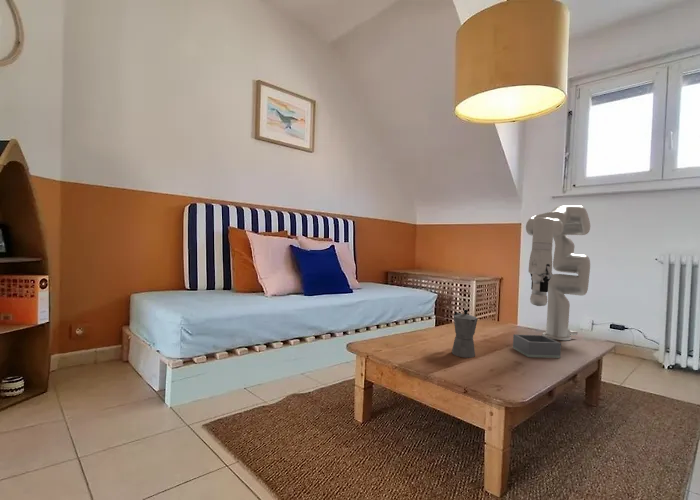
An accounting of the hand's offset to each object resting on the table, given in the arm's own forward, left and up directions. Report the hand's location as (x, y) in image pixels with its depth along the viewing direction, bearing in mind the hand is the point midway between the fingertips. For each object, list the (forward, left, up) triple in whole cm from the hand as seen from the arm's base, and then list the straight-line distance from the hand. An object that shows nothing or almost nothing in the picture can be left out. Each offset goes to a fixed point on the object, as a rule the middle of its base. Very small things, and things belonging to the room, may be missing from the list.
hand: (539, 290), depth 156 cm
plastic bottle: (0, 0, -7) cm, 7 cm away
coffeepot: (+33, +4, -26) cm, 42 cm away
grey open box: (0, 0, -26) cm, 26 cm away
